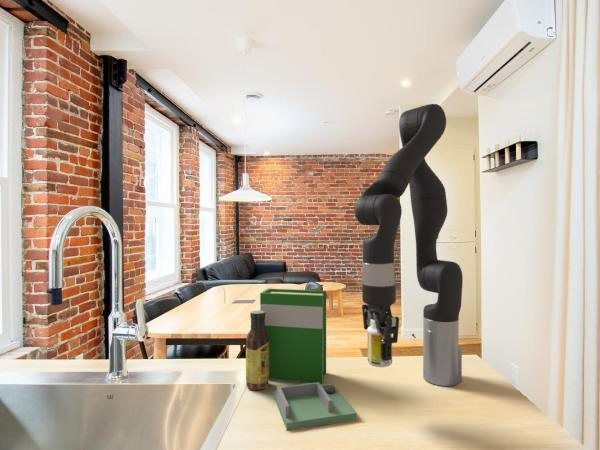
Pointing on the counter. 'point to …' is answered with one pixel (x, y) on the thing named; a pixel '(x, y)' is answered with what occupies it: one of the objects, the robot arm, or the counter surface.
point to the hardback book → (295, 333)
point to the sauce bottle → (257, 353)
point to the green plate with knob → (312, 405)
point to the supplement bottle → (375, 347)
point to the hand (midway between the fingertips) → (379, 354)
